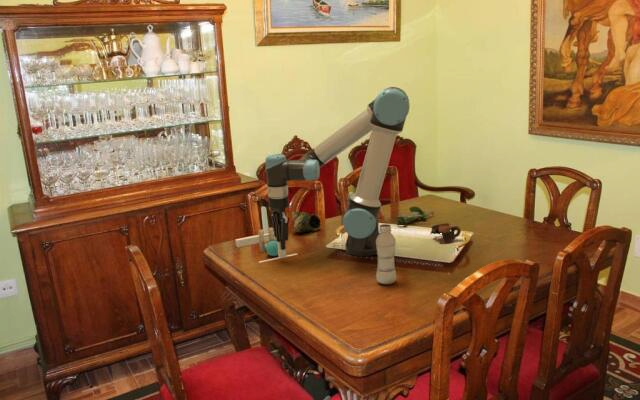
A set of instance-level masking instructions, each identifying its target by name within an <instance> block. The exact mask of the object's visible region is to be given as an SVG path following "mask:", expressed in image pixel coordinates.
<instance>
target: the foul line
mask: <svg viewBox="0 0 640 400" xmlns="http://www.w3.org/2000/svg"><path fill="white" fill-rule="evenodd" d="M286 256H287V257H283V258H282V259H285V258H288V257H293V256H298V253H297V252H296V253H292V254H286ZM279 259H280V260H281V258H279V257H278V256H277V257H274V258H269V259H265V260H260V261H258V263H259V264H262V263H266V262H270V261H274V260H279Z"/></svg>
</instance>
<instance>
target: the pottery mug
mask: <svg viewBox="0 0 640 400" xmlns="http://www.w3.org/2000/svg"><path fill="white" fill-rule="evenodd" d="M430 229H431V231H430V235H432V234H433V235H436V234H437V235H442V237H440V238H438V242H439V245H441V244H442V243H443V244H446V243H447V244H448V243H449V244H451V243H453V240H455V239H457V237H459V236H460V234H461V232H462V230H461V228H460V227H459V226H450V224H449V222H446V223H445V222H444V223H439V224H434V225H433V226H431V228H430ZM455 232H456V233H455ZM440 233H442V234H440Z"/></svg>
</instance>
